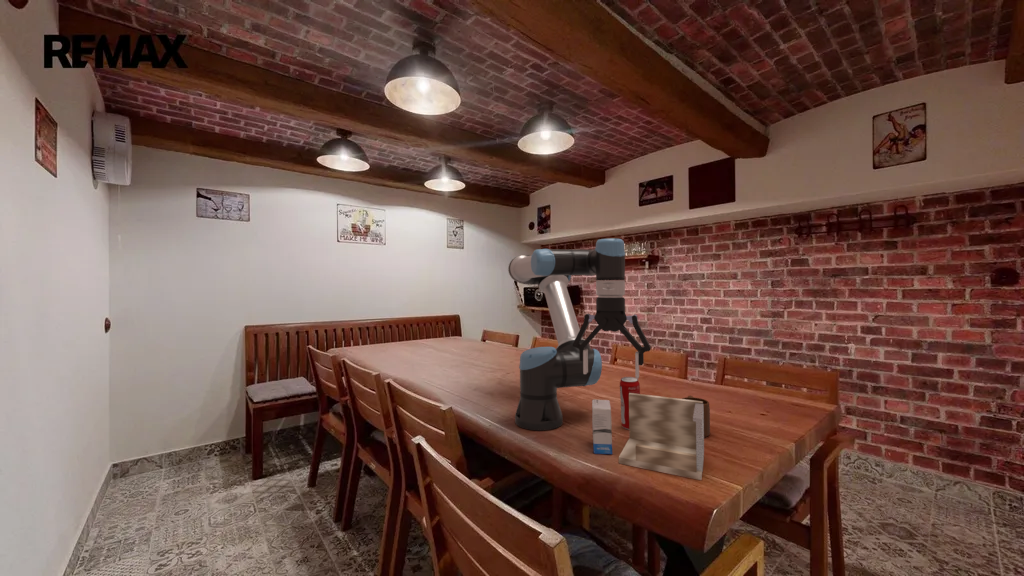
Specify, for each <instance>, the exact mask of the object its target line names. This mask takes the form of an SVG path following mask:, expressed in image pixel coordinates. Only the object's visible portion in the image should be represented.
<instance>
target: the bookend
mask: <svg viewBox="0 0 1024 576" xmlns="http://www.w3.org/2000/svg"><path fill="white" fill-rule="evenodd" d="M693 421H695V422H696V464H697V471H700V472H702V473H703V471H704V457H705V437H704V407H703V404H700V403H695V409H694V414H693Z"/></svg>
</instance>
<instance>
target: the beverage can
mask: <svg viewBox="0 0 1024 576" xmlns="http://www.w3.org/2000/svg"><path fill="white" fill-rule="evenodd" d="M640 389H641V384H640V382H639V379H638V378H635V377H634V376H624V377H621V378H620V382H619V393H620V394H619V395H620V396H619V398H620V414H621V415H620V418H621V419H620V420H621V421H620V422H621V427H622V428H623V429H625V430H628V431H629V393H635V394H641V390H640Z"/></svg>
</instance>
